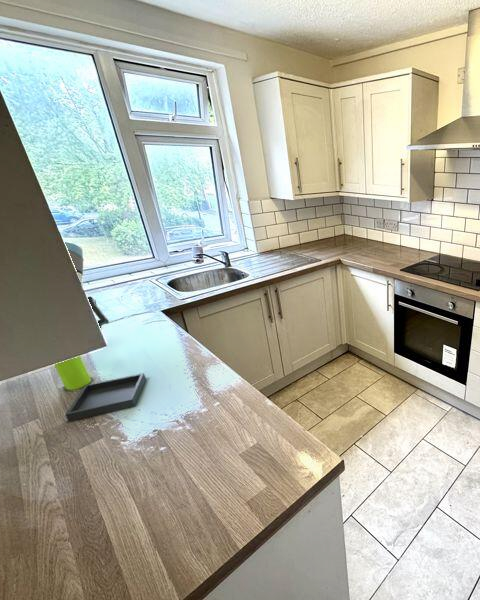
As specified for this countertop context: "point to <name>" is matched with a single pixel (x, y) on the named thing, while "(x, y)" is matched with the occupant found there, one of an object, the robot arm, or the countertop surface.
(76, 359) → the soap dispenser
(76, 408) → the tray
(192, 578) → the countertop surface
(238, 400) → the countertop surface
